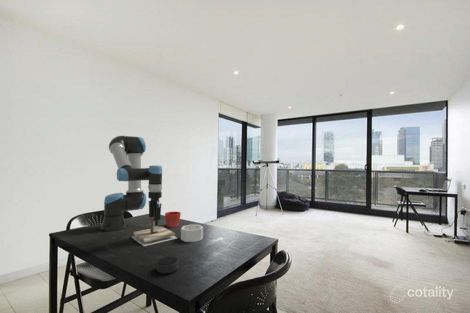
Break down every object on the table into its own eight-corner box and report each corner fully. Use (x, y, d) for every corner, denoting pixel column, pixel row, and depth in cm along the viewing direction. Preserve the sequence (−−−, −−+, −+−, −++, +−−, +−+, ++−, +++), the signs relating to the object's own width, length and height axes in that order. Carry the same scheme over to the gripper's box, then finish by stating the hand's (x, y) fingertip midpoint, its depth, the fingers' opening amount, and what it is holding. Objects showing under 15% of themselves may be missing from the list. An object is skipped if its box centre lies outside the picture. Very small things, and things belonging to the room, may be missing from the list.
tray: (131, 238, 135) (131, 237, 135) (162, 231, 149) (162, 230, 149) (143, 247, 121) (143, 246, 121) (177, 239, 134) (177, 238, 134)
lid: (133, 234, 136) (133, 217, 136) (162, 228, 148) (162, 212, 148) (144, 242, 122) (145, 223, 123) (175, 235, 135) (175, 218, 135)
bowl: (177, 239, 134) (177, 227, 134) (195, 234, 142) (195, 223, 143) (188, 244, 125) (188, 231, 126) (206, 239, 133) (206, 227, 134)
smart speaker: (170, 263, 102) (170, 254, 102) (182, 269, 96) (182, 259, 96) (152, 270, 95) (152, 260, 95) (163, 277, 90) (164, 267, 90)
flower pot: (173, 223, 168) (173, 210, 168) (183, 226, 161) (183, 212, 162) (161, 227, 159) (161, 213, 159) (171, 229, 153) (171, 215, 153)
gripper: (143, 190, 139) (142, 228, 139) (154, 193, 127) (153, 235, 127) (155, 189, 144) (154, 226, 144) (167, 192, 132) (166, 232, 132)
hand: (154, 230), depth 135 cm, fingers closed on lid, 3 cm apart
